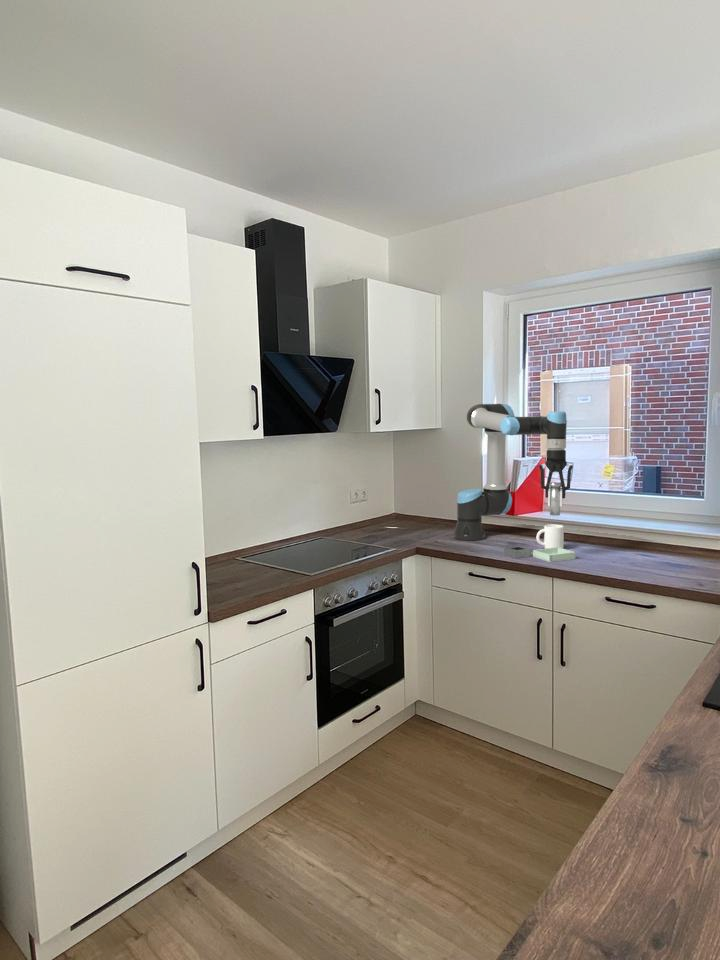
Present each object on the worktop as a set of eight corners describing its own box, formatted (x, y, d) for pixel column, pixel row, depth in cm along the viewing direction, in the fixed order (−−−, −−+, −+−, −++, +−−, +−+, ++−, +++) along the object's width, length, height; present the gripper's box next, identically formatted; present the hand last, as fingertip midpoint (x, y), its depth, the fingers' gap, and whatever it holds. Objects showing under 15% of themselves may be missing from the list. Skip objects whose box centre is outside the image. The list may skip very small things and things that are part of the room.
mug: (539, 551, 270) (539, 528, 269) (533, 547, 278) (533, 524, 277) (566, 550, 270) (566, 527, 269) (559, 546, 279) (559, 524, 278)
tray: (532, 556, 260) (533, 550, 260) (557, 553, 265) (557, 547, 265) (550, 562, 250) (550, 555, 250) (575, 558, 255) (575, 552, 254)
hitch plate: (504, 554, 265) (504, 547, 264) (519, 552, 268) (519, 545, 267) (515, 558, 257) (515, 551, 257) (531, 556, 260) (531, 549, 260)
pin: (548, 513, 259) (549, 482, 258) (562, 514, 257) (563, 482, 256) (547, 515, 254) (547, 483, 253) (561, 516, 252) (562, 484, 250)
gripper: (533, 449, 252) (532, 506, 255) (577, 450, 246) (576, 508, 248) (535, 448, 259) (534, 503, 262) (578, 449, 253) (577, 505, 255)
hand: (555, 505), depth 255 cm, fingers closed on pin, 4 cm apart
